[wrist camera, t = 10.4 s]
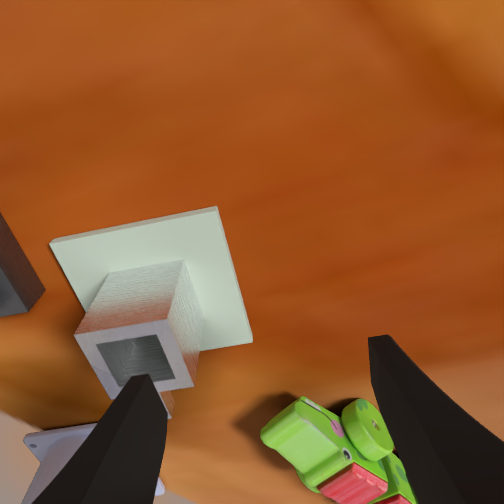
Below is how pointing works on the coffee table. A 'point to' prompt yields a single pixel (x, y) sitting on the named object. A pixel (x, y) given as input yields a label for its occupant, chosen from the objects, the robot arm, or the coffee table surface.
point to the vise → (16, 276)
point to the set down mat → (159, 251)
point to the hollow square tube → (144, 329)
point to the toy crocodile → (340, 452)
